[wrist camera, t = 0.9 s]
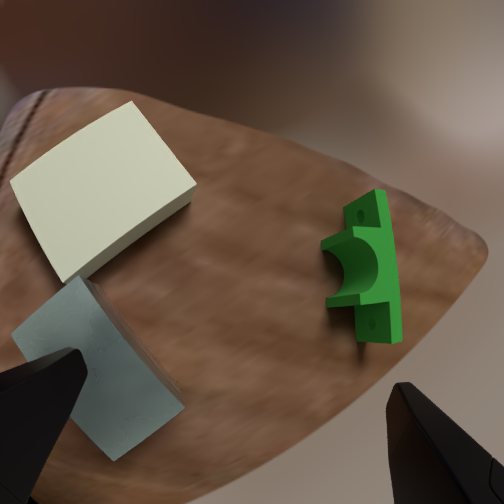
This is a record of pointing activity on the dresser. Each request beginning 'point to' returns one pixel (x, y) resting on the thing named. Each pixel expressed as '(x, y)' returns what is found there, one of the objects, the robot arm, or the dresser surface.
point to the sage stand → (101, 191)
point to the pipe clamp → (368, 269)
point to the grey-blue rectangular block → (104, 366)
